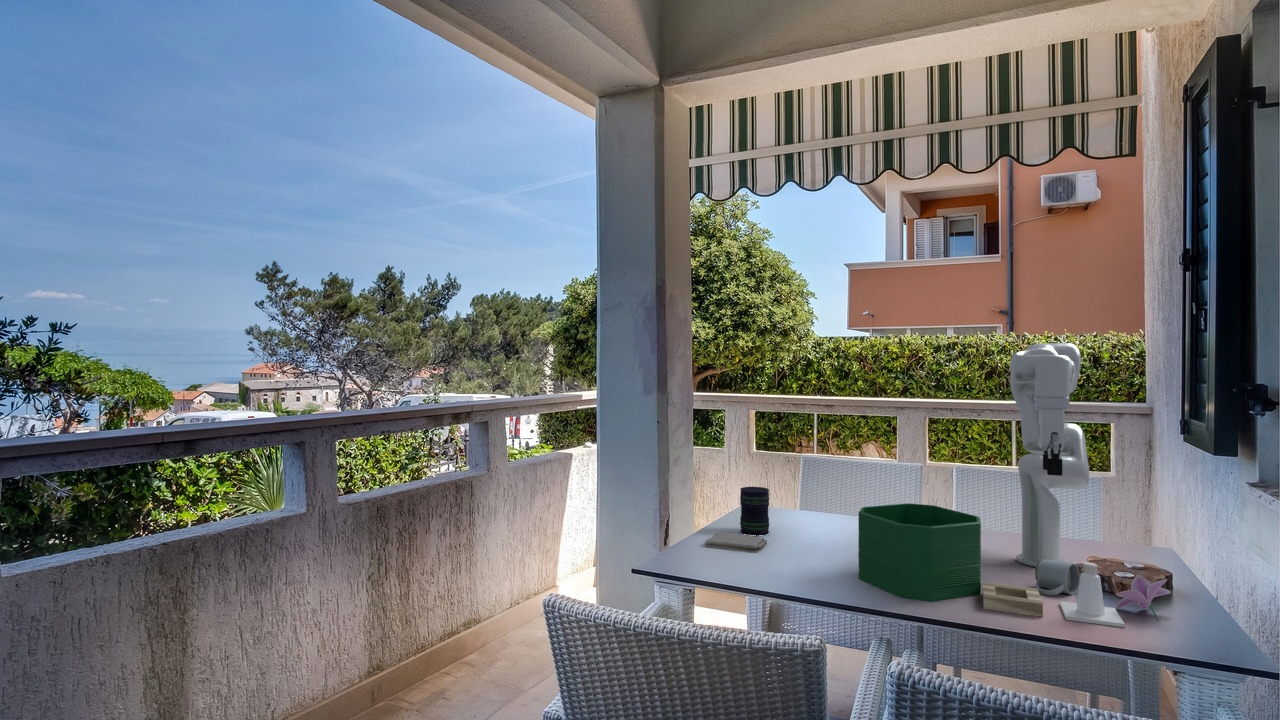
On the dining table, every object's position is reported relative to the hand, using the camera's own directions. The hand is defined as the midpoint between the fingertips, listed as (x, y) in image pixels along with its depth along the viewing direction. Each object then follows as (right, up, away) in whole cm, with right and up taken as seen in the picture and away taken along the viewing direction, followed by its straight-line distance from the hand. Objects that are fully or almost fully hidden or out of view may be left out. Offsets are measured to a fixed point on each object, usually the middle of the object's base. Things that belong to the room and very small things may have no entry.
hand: (1052, 472), depth 173 cm
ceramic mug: (+2, -31, +2) cm, 31 cm away
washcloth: (-73, -31, +46) cm, 92 cm away
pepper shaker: (-1, -30, -16) cm, 33 cm away
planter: (-30, -31, +8) cm, 44 cm away
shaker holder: (-15, -30, -9) cm, 35 cm away
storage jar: (-64, -31, +63) cm, 95 cm away
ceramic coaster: (-1, -30, -16) cm, 34 cm away
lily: (+12, -31, -15) cm, 36 cm away
